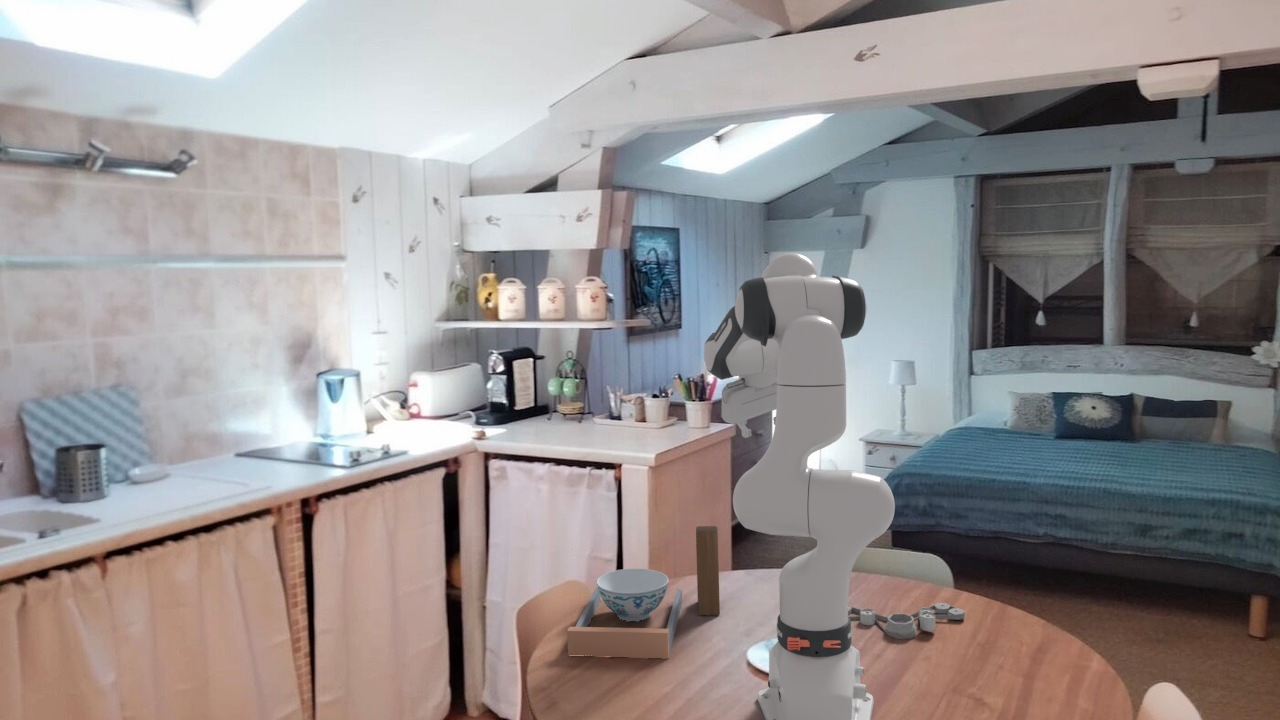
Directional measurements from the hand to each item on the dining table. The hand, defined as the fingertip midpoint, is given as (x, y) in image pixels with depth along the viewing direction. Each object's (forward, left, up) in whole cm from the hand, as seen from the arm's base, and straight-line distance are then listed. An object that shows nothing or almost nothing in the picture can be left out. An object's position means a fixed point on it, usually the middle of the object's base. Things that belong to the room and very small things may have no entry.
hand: (762, 430), depth 208 cm
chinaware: (-24, +28, -35) cm, 51 cm away
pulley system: (-26, -26, -36) cm, 51 cm away
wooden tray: (-30, +28, -35) cm, 54 cm away
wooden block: (-19, +12, -35) cm, 42 cm away
